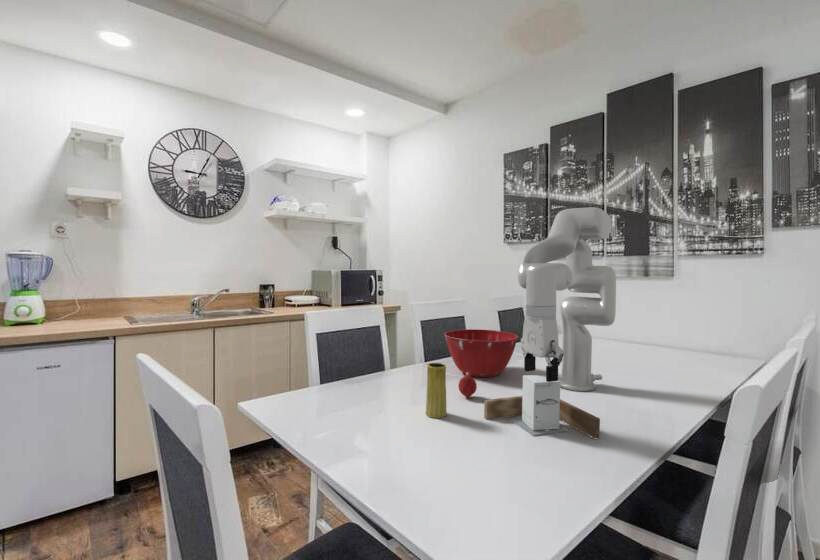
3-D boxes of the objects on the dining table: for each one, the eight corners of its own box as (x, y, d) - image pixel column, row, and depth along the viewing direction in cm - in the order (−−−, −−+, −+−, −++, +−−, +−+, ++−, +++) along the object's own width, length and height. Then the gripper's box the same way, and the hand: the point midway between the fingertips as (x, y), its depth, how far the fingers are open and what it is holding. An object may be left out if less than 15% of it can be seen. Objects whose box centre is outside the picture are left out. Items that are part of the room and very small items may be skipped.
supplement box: (532, 431, 105) (533, 382, 105) (521, 420, 113) (522, 374, 112) (560, 430, 106) (561, 381, 106) (547, 419, 114) (547, 373, 113)
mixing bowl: (465, 361, 183) (465, 326, 182) (528, 371, 166) (529, 332, 166) (430, 374, 160) (431, 335, 159) (499, 388, 143) (500, 343, 143)
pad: (543, 417, 116) (543, 416, 116) (567, 431, 106) (567, 430, 106) (512, 421, 113) (512, 420, 113) (533, 436, 103) (533, 434, 103)
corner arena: (547, 410, 122) (547, 393, 122) (599, 438, 102) (599, 418, 102) (484, 417, 116) (484, 400, 115) (526, 449, 96) (526, 428, 96)
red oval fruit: (476, 401, 130) (476, 375, 129) (457, 399, 131) (457, 374, 130) (476, 395, 135) (477, 371, 135) (459, 394, 136) (459, 370, 136)
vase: (432, 419, 114) (432, 368, 113) (421, 412, 119) (421, 363, 119) (451, 416, 117) (451, 366, 116) (439, 409, 122) (440, 361, 122)
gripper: (510, 308, 116) (510, 368, 117) (549, 317, 99) (548, 387, 100) (534, 307, 118) (533, 366, 119) (575, 315, 101) (574, 383, 102)
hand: (540, 375), depth 110 cm, fingers open, 9 cm apart
